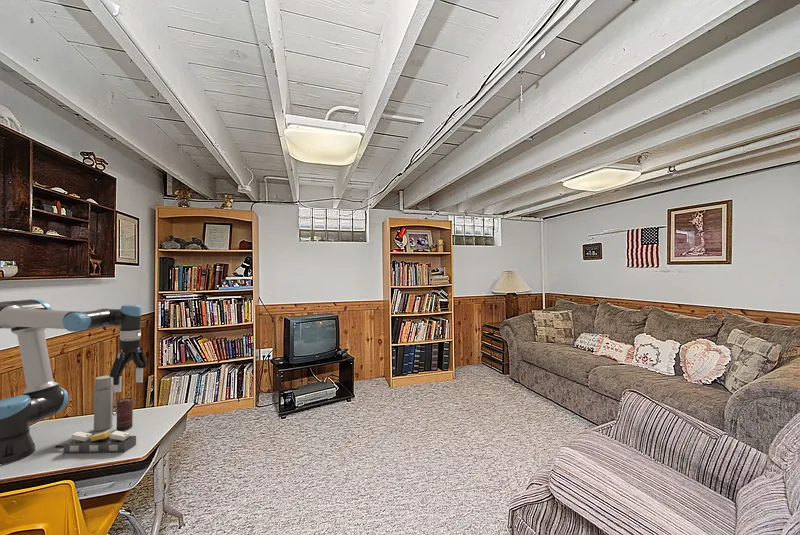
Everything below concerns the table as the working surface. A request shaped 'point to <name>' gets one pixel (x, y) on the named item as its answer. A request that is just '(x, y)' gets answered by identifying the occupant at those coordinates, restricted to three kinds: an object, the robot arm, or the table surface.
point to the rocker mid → (100, 436)
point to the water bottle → (103, 403)
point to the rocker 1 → (81, 436)
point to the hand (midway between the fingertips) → (128, 386)
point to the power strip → (98, 446)
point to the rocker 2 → (119, 435)
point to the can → (124, 414)
